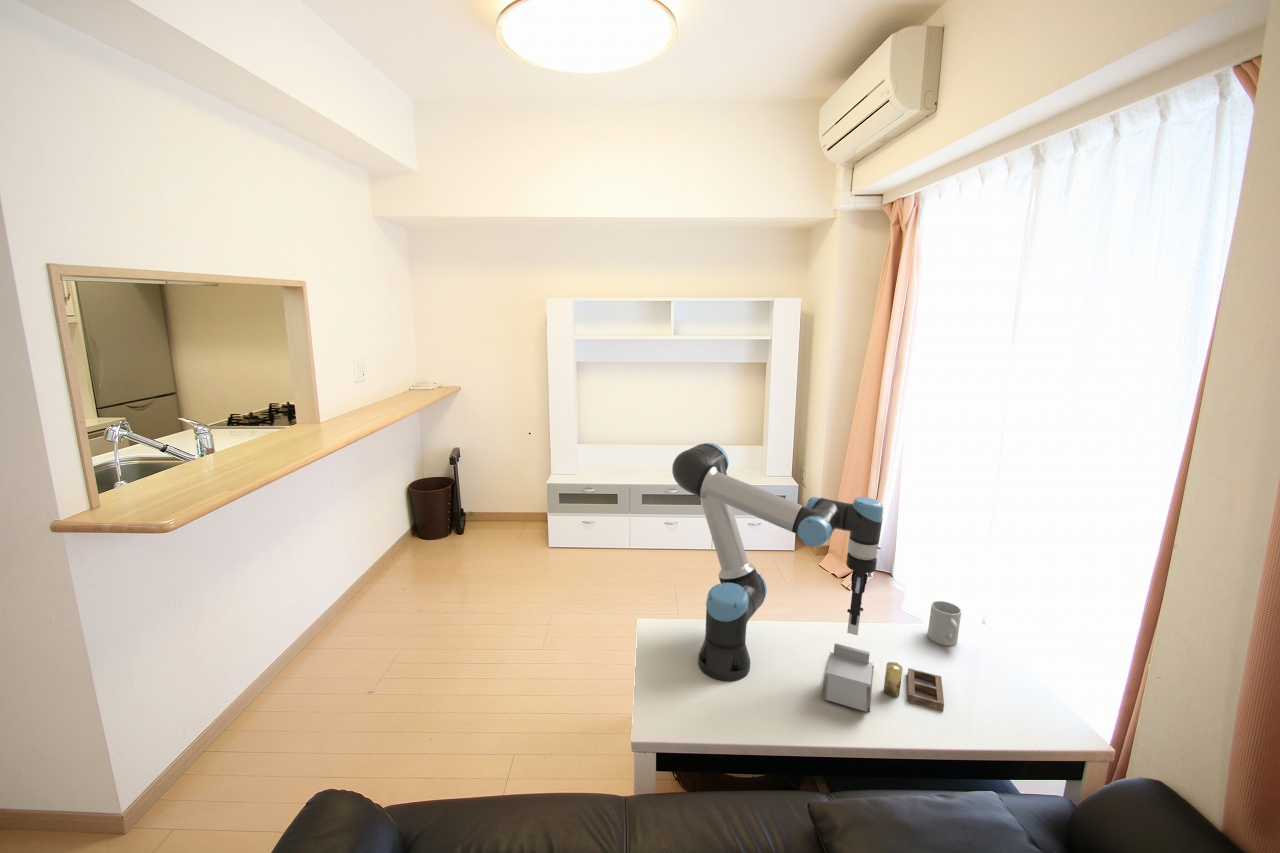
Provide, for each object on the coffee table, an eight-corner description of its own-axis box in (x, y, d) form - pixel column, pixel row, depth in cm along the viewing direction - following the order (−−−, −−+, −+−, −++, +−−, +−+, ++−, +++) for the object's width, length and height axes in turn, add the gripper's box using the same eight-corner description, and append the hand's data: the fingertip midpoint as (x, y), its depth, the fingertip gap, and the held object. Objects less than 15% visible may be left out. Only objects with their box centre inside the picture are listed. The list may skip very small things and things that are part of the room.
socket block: (907, 701, 148) (908, 694, 147) (907, 674, 159) (908, 668, 159) (943, 710, 144) (944, 704, 144) (940, 682, 156) (941, 676, 155)
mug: (922, 630, 182) (926, 600, 180) (949, 632, 181) (953, 601, 179) (939, 651, 170) (943, 619, 168) (967, 653, 170) (972, 621, 168)
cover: (823, 698, 146) (826, 662, 144) (827, 677, 155) (830, 642, 152) (867, 711, 141) (871, 674, 139) (869, 689, 150) (873, 653, 148)
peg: (883, 694, 150) (886, 668, 149) (883, 686, 154) (886, 660, 152) (899, 699, 148) (902, 672, 147) (899, 690, 152) (902, 664, 150)
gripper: (875, 567, 142) (865, 648, 147) (878, 548, 153) (868, 625, 158) (845, 560, 145) (835, 640, 150) (849, 543, 157) (840, 618, 161)
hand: (852, 632), depth 154 cm, fingers closed
